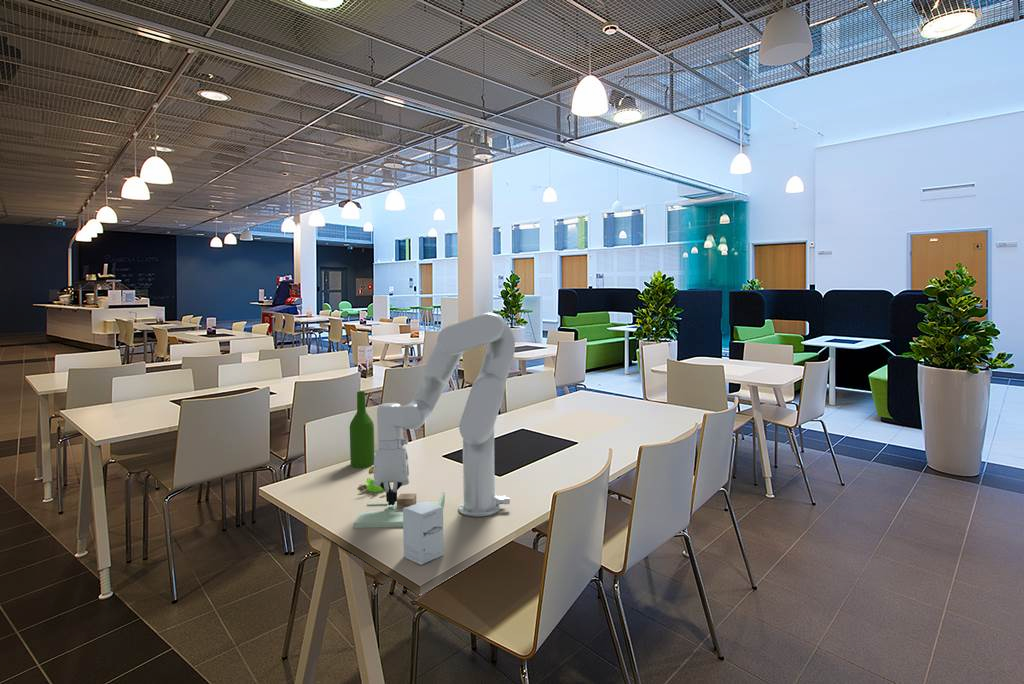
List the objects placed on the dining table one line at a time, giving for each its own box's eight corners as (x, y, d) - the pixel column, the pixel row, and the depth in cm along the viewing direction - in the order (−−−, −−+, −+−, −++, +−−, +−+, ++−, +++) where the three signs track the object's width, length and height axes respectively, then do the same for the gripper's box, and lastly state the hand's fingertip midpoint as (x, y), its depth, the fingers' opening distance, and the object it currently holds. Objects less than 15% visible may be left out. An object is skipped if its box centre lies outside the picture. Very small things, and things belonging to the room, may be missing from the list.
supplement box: (421, 566, 127) (420, 514, 127) (402, 557, 132) (401, 507, 132) (444, 555, 133) (443, 506, 132) (426, 547, 138) (425, 499, 137)
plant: (334, 500, 177) (333, 467, 176) (381, 485, 192) (380, 455, 192) (372, 513, 165) (371, 477, 164) (419, 496, 180) (418, 463, 180)
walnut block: (416, 503, 165) (416, 493, 165) (413, 508, 160) (413, 498, 160) (400, 503, 165) (400, 493, 165) (396, 508, 160) (396, 499, 160)
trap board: (444, 509, 166) (444, 492, 166) (439, 529, 150) (439, 510, 150) (367, 511, 165) (367, 493, 165) (354, 531, 149) (353, 512, 149)
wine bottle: (377, 472, 208) (375, 390, 207) (371, 478, 199) (369, 393, 198) (354, 472, 208) (352, 390, 207) (348, 479, 199) (345, 393, 198)
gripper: (417, 440, 164) (418, 499, 165) (368, 441, 164) (370, 500, 165) (413, 446, 157) (414, 507, 158) (362, 447, 156) (364, 508, 157)
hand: (391, 503), depth 161 cm, fingers closed
